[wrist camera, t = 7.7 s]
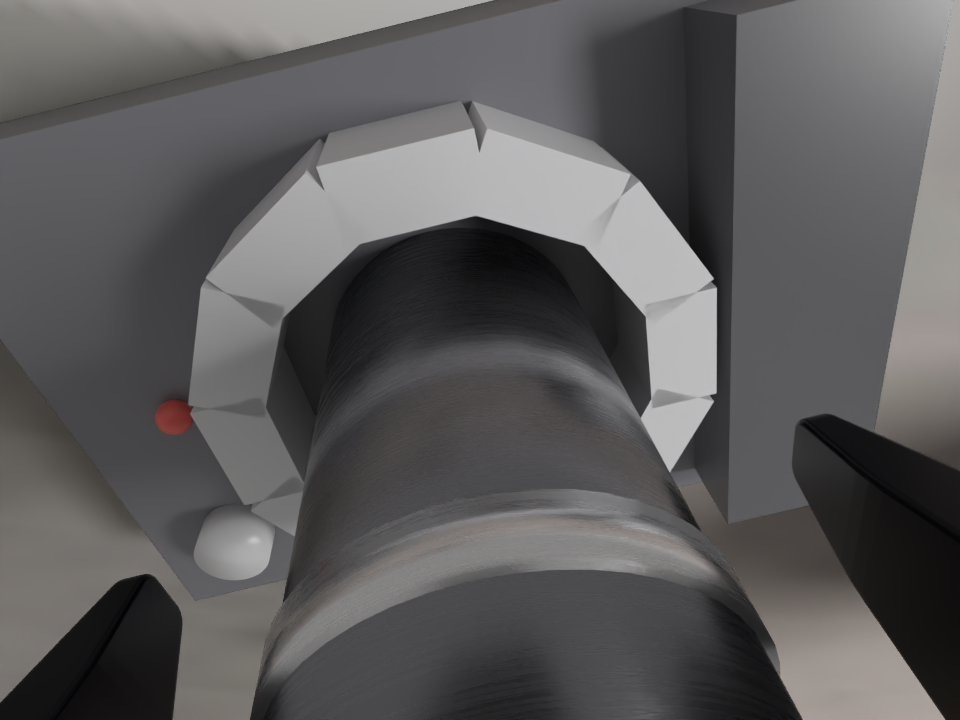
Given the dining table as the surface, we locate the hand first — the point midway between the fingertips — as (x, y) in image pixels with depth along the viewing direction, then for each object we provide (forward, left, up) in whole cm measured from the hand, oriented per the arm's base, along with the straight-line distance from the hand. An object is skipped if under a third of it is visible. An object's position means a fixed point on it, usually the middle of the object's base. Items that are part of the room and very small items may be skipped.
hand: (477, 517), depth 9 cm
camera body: (0, 0, -8) cm, 8 cm away
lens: (0, 0, -5) cm, 5 cm away
